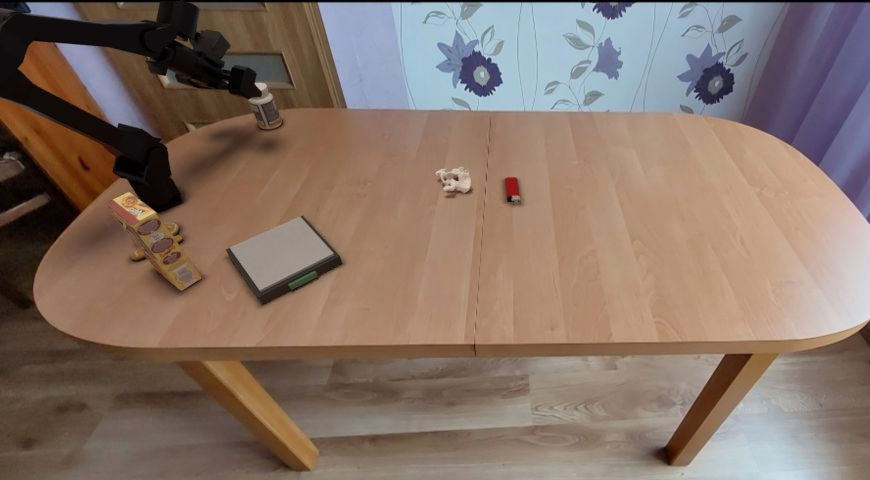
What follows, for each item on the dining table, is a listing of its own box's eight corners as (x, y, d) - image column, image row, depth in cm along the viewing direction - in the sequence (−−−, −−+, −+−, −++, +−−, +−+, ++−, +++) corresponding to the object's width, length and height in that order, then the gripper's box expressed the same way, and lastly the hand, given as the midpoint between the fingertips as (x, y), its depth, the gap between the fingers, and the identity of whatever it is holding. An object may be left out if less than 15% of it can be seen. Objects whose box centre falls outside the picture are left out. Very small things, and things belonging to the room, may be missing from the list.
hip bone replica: (433, 164, 102) (462, 156, 103) (436, 180, 105) (464, 172, 106) (443, 184, 96) (473, 176, 98) (446, 200, 100) (475, 192, 101)
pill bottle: (282, 117, 121) (269, 80, 114) (282, 128, 118) (269, 90, 110) (259, 120, 120) (244, 83, 113) (258, 131, 116) (243, 93, 109)
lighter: (517, 177, 103) (520, 199, 98) (517, 181, 104) (520, 204, 99) (504, 177, 103) (507, 199, 98) (504, 182, 104) (507, 204, 98)
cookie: (122, 258, 84) (146, 221, 91) (125, 261, 85) (148, 225, 92) (169, 256, 85) (189, 220, 92) (172, 259, 86) (192, 223, 92)
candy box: (203, 278, 83) (158, 211, 71) (180, 292, 80) (130, 225, 69) (176, 257, 86) (129, 190, 75) (153, 270, 84) (101, 203, 73)
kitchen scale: (263, 306, 79) (258, 296, 77) (229, 257, 86) (223, 247, 85) (343, 265, 86) (340, 255, 84) (305, 223, 93) (301, 213, 91)
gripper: (231, 28, 91) (286, 63, 106) (158, 15, 95) (220, 50, 111) (219, 85, 92) (275, 111, 107) (147, 69, 96) (210, 97, 111)
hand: (245, 91), depth 109 cm, fingers open, 9 cm apart
